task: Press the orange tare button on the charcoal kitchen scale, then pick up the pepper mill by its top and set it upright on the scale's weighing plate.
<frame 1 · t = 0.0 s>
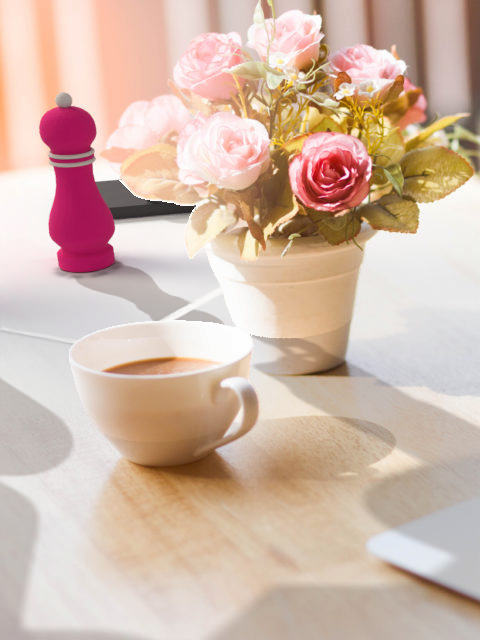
pepper mill: (87, 265, 138), on the table
tare button: (167, 180, 157), point 4 cm above the table, slide at 0.1 cm
scale: (130, 204, 160), on the table
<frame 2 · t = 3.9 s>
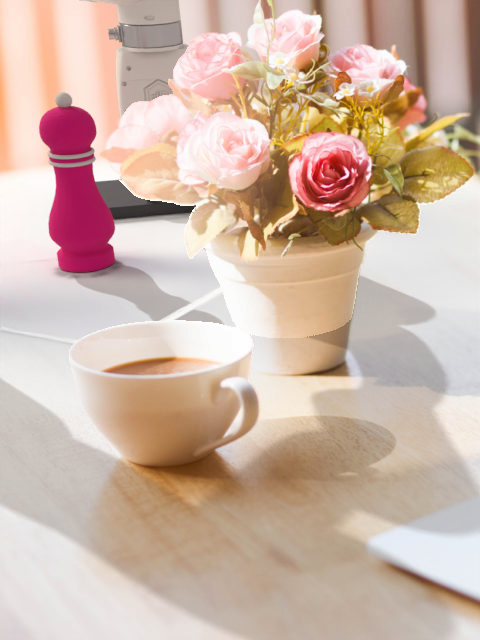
hand: (168, 176, 156), 5 cm above the table, tool pointing down, fingers closed
tare button: (168, 183, 157), point 4 cm above the table, slide at -0.3 cm, touching gripper
everything else where it was.
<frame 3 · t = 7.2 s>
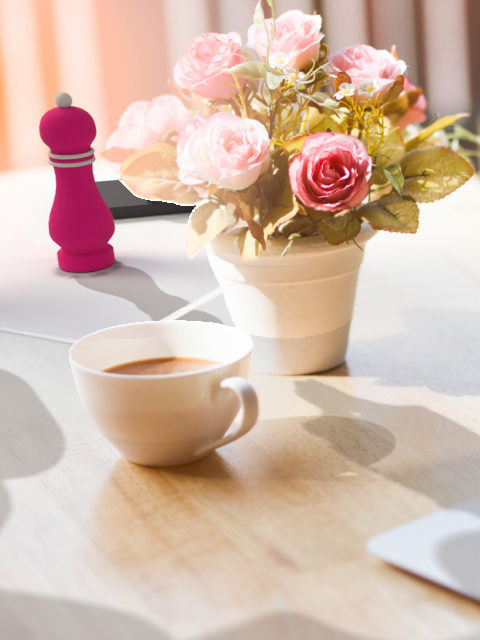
tare button: (167, 180, 157), point 4 cm above the table, slide at 0.1 cm
everything else where it was.
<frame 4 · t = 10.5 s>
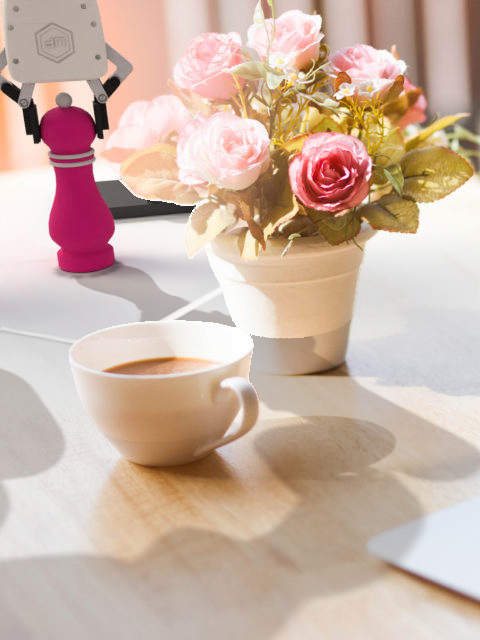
hand: (69, 137, 132), 15 cm above the table, tool pointing down, fingers closed on pepper mill, 6 cm apart
pepper mill: (87, 265, 138), on the table, touching gripper
everything else where it was.
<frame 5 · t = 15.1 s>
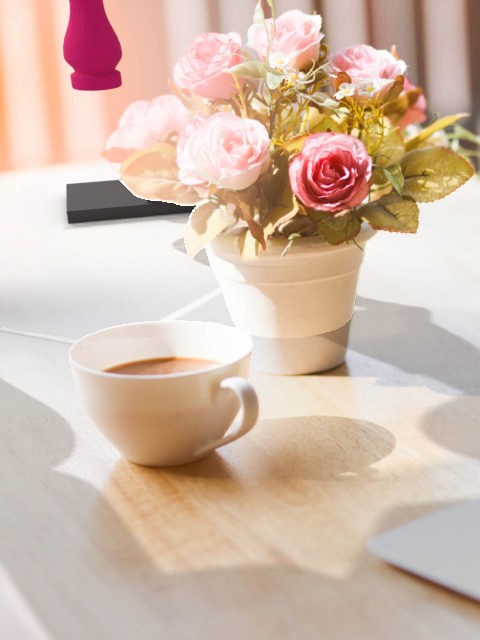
pepper mill: (97, 88, 154), point 16 cm above the table, touching gripper
everything else where it was.
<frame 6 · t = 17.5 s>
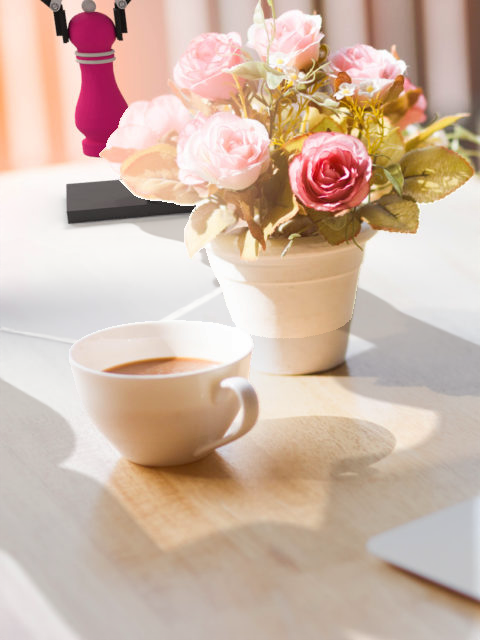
hand: (93, 39, 153), 22 cm above the table, tool pointing down, fingers closed on pepper mill, 6 cm apart
pepper mill: (107, 153, 159), point 7 cm above the table, touching gripper
everything else where it was.
when the fingers open (17 cm above the table, at t = 19.5 s): pepper mill stays where it is, resting on scale.
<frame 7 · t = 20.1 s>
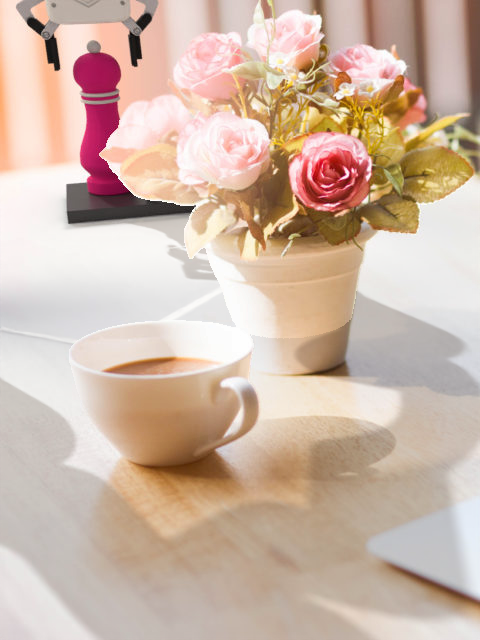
hand: (96, 67, 154), 18 cm above the table, tool pointing down, fingers open, 9 cm apart
pepper mill: (112, 190, 161), point 2 cm above the table, touching scale
everything else where it was.
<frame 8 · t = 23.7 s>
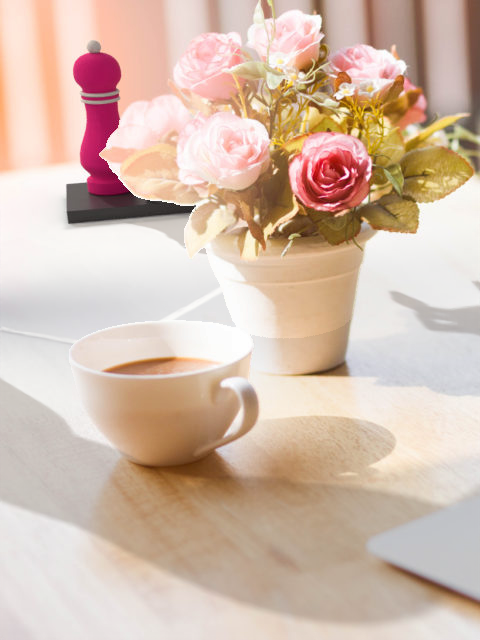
nothing on the table moved.
at the end: tare button pushed in 1.1 cm at the most during the clip, back to where it started at the end; pepper mill inside the target area on the scale (2.8 cm from its centre), point 1.5 cm above the scale's base; pepper mill tilted 0° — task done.
